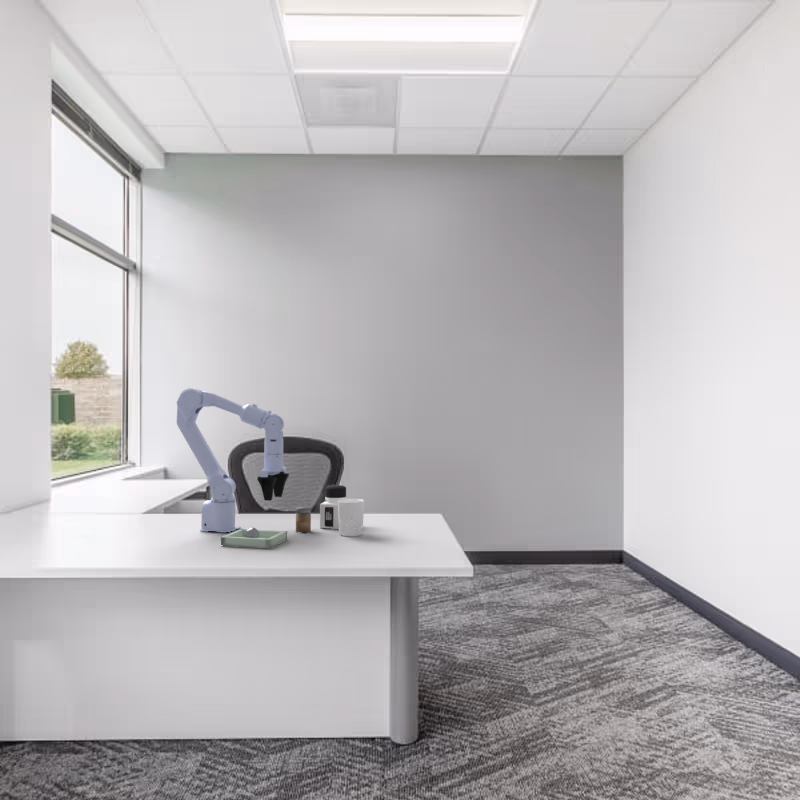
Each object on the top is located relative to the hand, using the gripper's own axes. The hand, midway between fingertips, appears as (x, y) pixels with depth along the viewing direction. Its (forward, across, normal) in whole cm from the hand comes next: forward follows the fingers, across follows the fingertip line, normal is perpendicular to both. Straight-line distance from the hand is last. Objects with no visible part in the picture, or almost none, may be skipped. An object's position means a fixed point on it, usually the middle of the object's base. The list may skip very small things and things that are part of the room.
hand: (273, 498), depth 194 cm
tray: (+9, -19, -3) cm, 21 cm away
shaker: (+9, 0, -10) cm, 14 cm away
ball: (+7, -20, -3) cm, 21 cm away
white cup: (+10, -1, -25) cm, 27 cm away
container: (+10, +9, -17) cm, 21 cm away
